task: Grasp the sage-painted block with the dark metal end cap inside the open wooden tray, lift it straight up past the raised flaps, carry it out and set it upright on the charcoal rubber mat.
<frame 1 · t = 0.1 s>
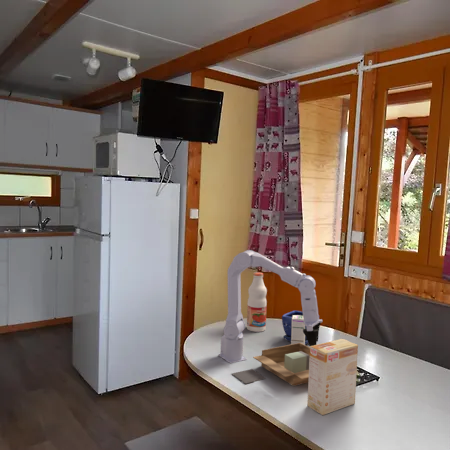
hand: (314, 344, 158), 11 cm above the table, tool pointing down, fingers open, 7 cm apart
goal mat: (248, 376, 153), on the table
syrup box: (297, 350, 181), on the table
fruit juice: (256, 329, 208), on the table
capped block: (296, 370, 159), resting on wooden tray
wooden tray: (296, 371, 159), on the table
coffeecake box: (331, 405, 134), on the table
flower pot: (299, 340, 194), on the table
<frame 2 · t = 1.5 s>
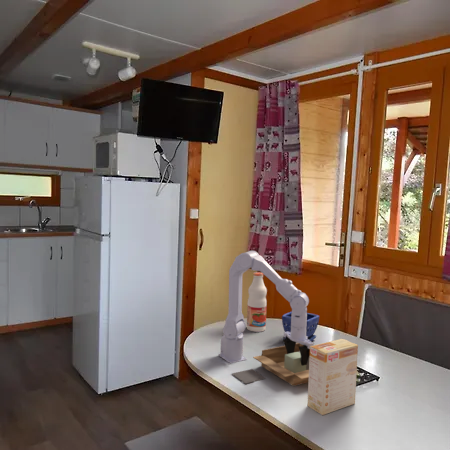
hand: (297, 361, 159), 4 cm above the table, tool pointing down, fingers open, 7 cm apart
nothing on the table moved.
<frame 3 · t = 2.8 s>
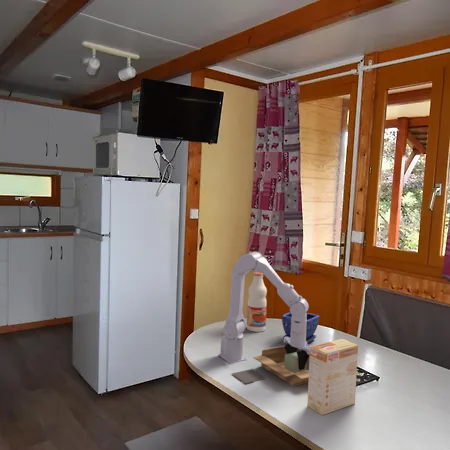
hand: (296, 366, 159), 2 cm above the table, tool pointing down, fingers closed on capped block, 5 cm apart
capped block: (296, 370, 159), resting on wooden tray, touching gripper
everything else where it was.
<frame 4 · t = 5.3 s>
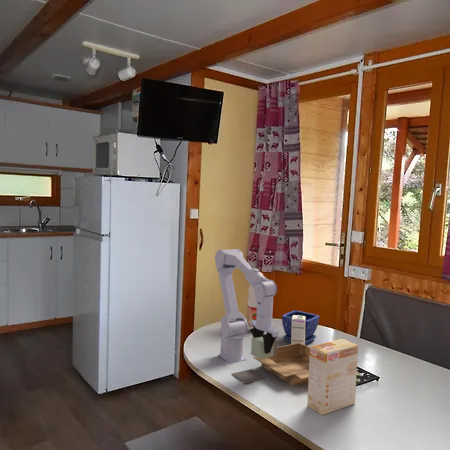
hand: (262, 350, 154), 9 cm above the table, tool pointing down, fingers closed on capped block, 5 cm apart
capped block: (263, 355, 154), point 8 cm above the table, touching gripper
everything else where it was.
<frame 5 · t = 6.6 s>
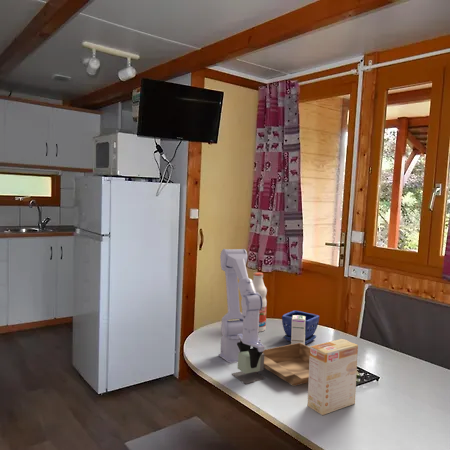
hand: (249, 364, 152), 5 cm above the table, tool pointing down, fingers closed on capped block, 5 cm apart
capped block: (250, 369, 153), point 3 cm above the table, touching gripper
everything else where it was.
when the fingers open (3 cm above the table, at t = 7.8 s): capped block drops 1 cm, resting on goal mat.
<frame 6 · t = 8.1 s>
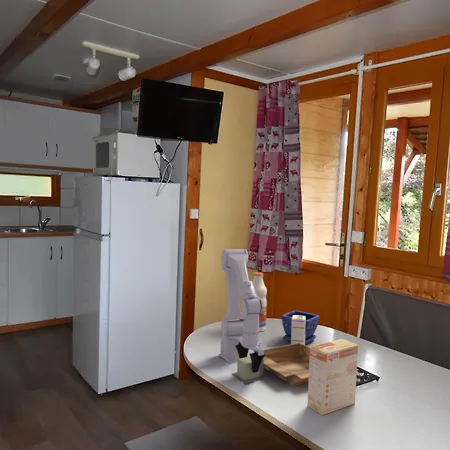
hand: (249, 368, 152), 3 cm above the table, tool pointing down, fingers open, 7 cm apart
capped block: (250, 375, 153), resting on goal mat
everything else where it was.
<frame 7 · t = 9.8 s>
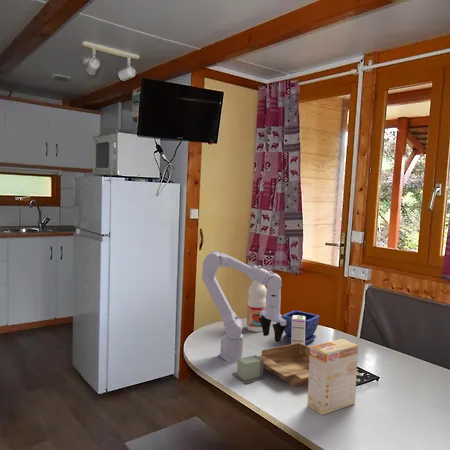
hand: (271, 338, 167), 9 cm above the table, tool pointing down, fingers open, 7 cm apart
nothing on the table moved.
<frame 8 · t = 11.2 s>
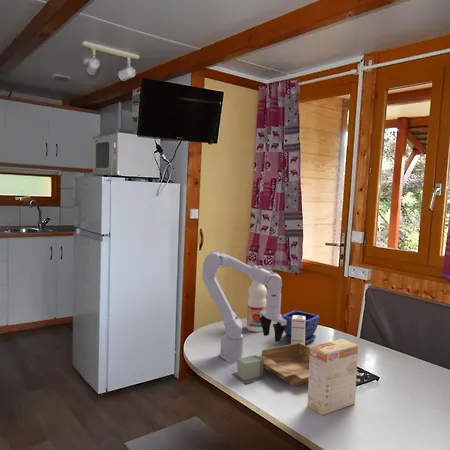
hand: (271, 338, 167), 9 cm above the table, tool pointing down, fingers open, 7 cm apart
nothing on the table moved.
at the end: capped block inside the target area on the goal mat (0.5 cm from its centre), point 0.4 cm above the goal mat's base; capped block tilted 0°; the gripper is holding nothing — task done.
